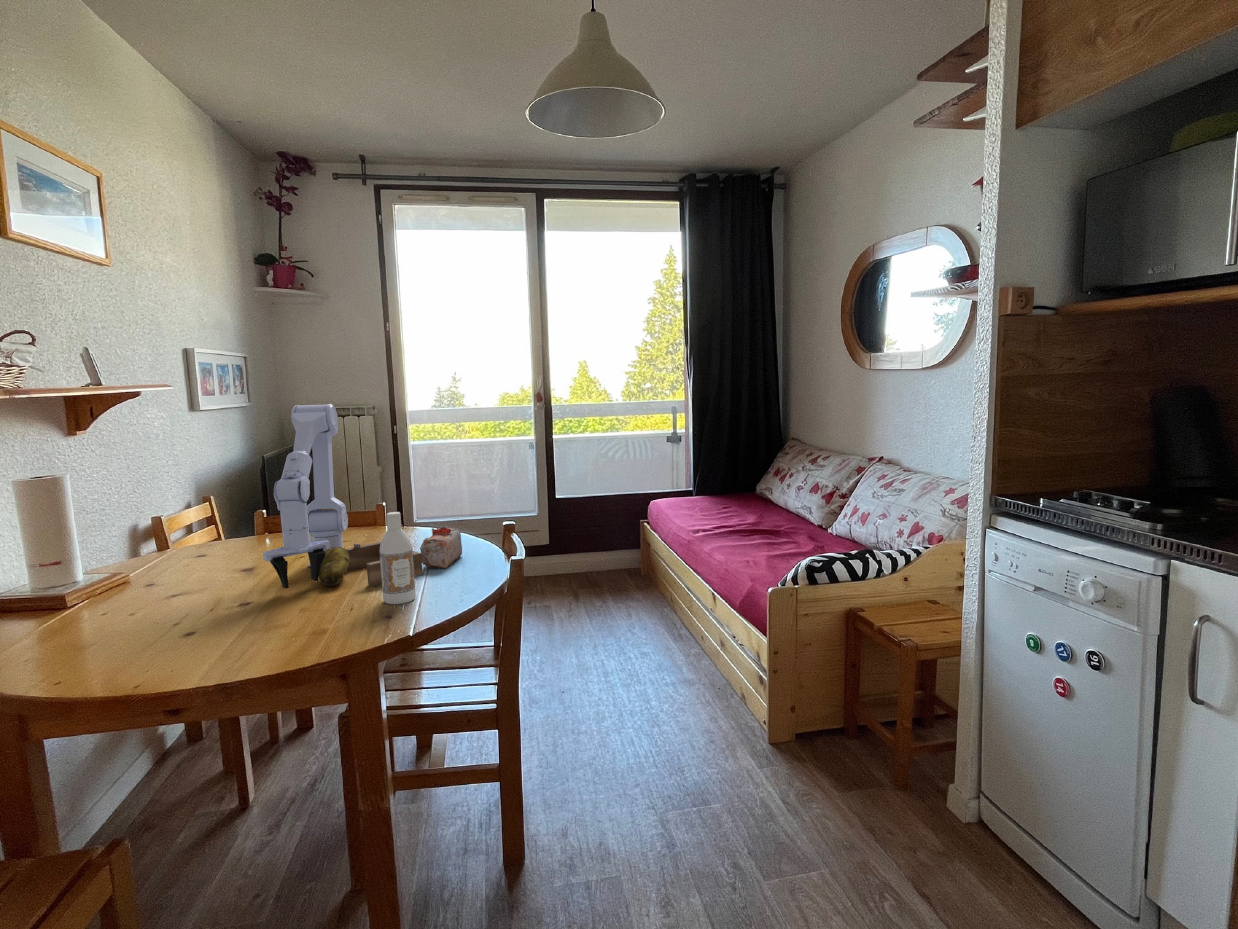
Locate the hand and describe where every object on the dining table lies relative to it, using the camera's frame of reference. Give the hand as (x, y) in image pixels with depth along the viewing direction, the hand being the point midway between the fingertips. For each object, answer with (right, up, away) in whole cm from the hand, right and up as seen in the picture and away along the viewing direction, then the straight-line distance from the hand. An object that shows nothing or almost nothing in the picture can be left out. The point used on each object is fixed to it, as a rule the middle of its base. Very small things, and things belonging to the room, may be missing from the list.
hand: (300, 583), depth 155 cm
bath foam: (+27, -2, -9) cm, 28 cm away
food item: (+28, +1, +21) cm, 35 cm away
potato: (+5, -1, +7) cm, 8 cm away
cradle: (+14, 0, +13) cm, 19 cm away
